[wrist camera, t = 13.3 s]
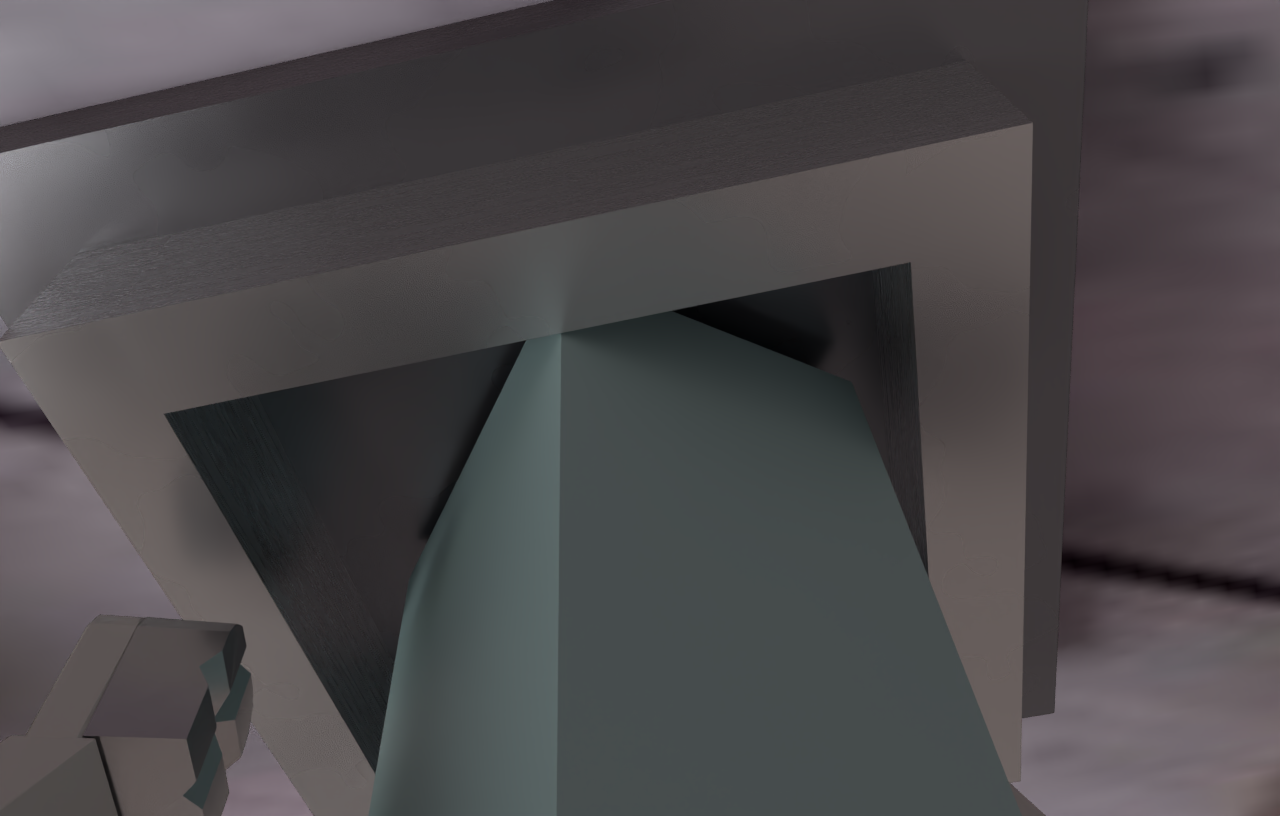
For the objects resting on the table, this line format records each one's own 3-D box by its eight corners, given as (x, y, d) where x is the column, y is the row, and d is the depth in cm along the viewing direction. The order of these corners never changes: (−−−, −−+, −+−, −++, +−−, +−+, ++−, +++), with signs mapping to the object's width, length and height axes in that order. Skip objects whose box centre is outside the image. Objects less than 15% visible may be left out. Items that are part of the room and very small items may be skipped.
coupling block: (851, 381, 13) (1070, 940, 7) (658, 648, 16) (709, 1199, 10) (561, 268, 12) (556, 830, 6) (409, 579, 15) (309, 1160, 9)
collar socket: (1029, 659, 19) (1102, 816, 16) (351, 775, 20) (315, 941, 17) (1047, -113, 11) (1190, -57, 9) (-40, 135, 12) (-209, 254, 10)
